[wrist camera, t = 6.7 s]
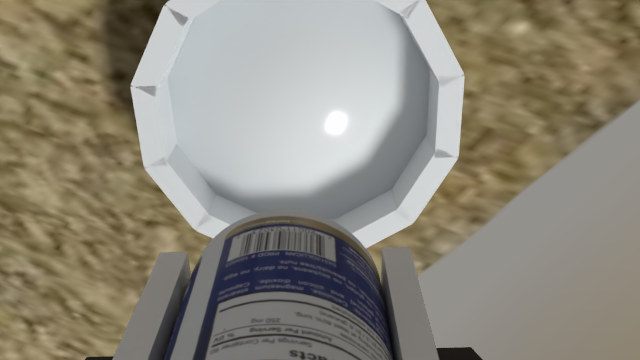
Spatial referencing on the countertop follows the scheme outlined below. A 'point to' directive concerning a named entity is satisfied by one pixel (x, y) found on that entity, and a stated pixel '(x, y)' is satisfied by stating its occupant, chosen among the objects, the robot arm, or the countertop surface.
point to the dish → (299, 110)
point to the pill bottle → (283, 294)
